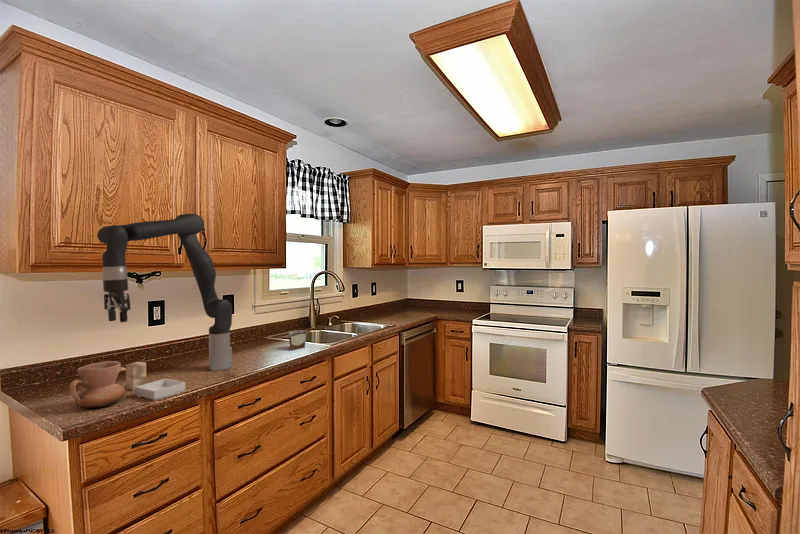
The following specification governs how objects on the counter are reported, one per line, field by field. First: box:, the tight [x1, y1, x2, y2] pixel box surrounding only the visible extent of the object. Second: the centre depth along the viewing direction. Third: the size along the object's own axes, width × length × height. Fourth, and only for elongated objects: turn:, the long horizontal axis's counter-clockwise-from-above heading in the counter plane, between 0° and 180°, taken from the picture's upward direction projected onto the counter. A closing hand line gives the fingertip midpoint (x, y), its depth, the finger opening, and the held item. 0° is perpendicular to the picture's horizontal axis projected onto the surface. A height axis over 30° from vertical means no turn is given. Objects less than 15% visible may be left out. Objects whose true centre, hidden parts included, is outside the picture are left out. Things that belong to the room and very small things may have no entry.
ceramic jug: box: [69, 360, 126, 409], centre depth 140 cm, size 18×14×14 cm
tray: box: [134, 378, 186, 402], centre depth 152 cm, size 12×12×4 cm
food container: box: [287, 330, 308, 352], centre depth 230 cm, size 12×6×10 cm, turn 144°
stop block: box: [125, 361, 147, 391], centre depth 159 cm, size 5×5×10 cm
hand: (118, 321), depth 147 cm, fingers open, 8 cm apart
